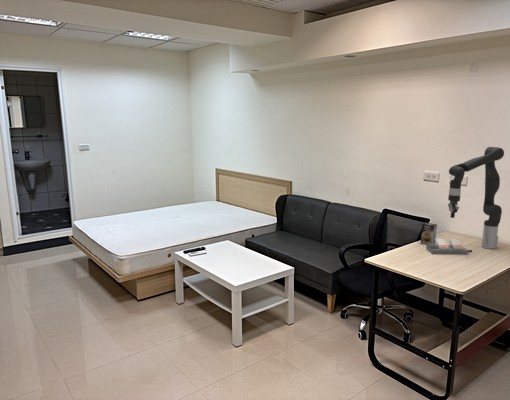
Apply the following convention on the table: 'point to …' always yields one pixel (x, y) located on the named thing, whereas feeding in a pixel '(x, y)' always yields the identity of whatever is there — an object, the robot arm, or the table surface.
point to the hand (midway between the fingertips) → (452, 217)
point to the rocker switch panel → (435, 250)
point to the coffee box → (428, 233)
